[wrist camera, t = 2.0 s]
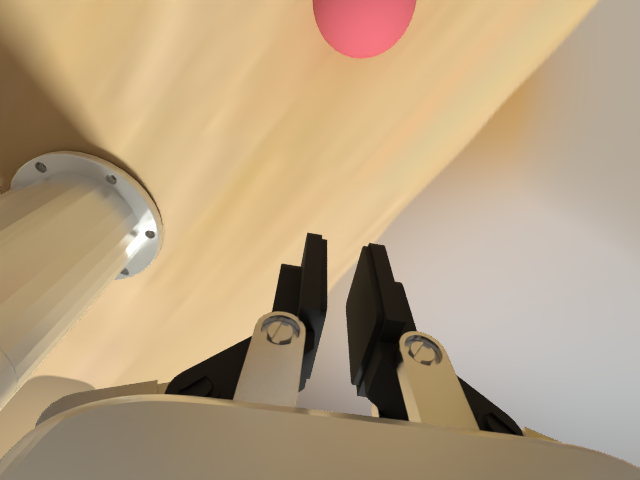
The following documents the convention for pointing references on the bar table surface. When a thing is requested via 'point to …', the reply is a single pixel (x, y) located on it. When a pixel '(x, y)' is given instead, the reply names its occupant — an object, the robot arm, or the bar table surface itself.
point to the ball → (363, 24)
